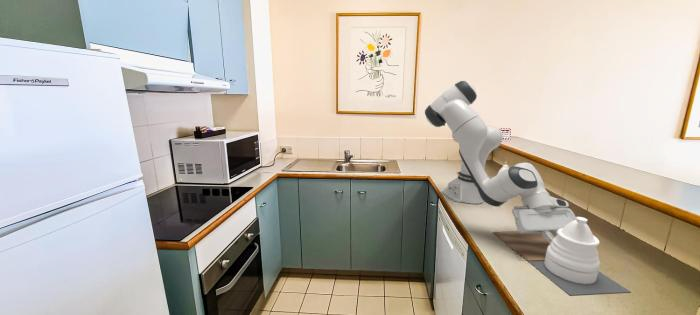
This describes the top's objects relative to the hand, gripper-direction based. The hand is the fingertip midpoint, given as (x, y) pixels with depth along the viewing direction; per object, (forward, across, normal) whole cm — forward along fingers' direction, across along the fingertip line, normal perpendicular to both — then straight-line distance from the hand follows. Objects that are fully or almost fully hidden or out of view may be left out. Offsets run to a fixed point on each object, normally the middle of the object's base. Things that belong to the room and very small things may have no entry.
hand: (556, 245), depth 92 cm
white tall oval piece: (-44, +25, +52) cm, 73 cm away
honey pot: (+8, 0, 0) cm, 8 cm away
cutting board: (-3, 0, +11) cm, 11 cm away
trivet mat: (+10, 0, -2) cm, 10 cm away
